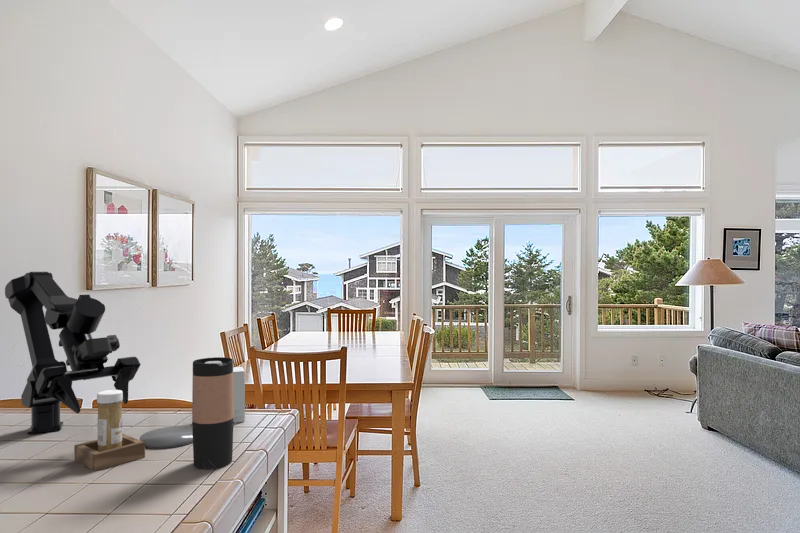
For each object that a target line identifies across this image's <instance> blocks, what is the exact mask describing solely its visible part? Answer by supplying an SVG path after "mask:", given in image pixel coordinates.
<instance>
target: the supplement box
mask: <svg viewBox="0 0 800 533" xmlns="http://www.w3.org/2000/svg"><path fill="white" fill-rule="evenodd" d="M245 376H246V374H245V369H244V368H243V366H235V367H234V366H233V407H234V417H233V418H234V421H233V422H236V423H243V422H245V420H246V419H245V418H246V416H245V415H246V412H245V411H246V409H245V408H246V405H245V404H246V403H245V402H246V398H245V396H246V394H245V393H246V392H245V391H246V390H245V388H246V387H245V386H246V382H245V381H246V380H245V378H246V377H245Z"/></svg>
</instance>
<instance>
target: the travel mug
mask: <svg viewBox="0 0 800 533" xmlns="http://www.w3.org/2000/svg"><path fill="white" fill-rule="evenodd" d="M233 367H234V359H233V358H231V357H225V356H224V357H221V356H220V357H205V358H199V359H195V360H193V362H192V384H191V385H192V390H191V391H192V394H191V395H192V399H191V400H192V402H191V403H192V407H191V408H192V410H191V413H192V414H191V417H192V418H191V419H192V420H191V421H192V422H191V424H192V425H191V426H192V430H193V443H192V452H193V454H192V455H193V456H192V457H193V466H194V468H196V469H199V470H216V469H220V467H221V468H224V467H226V465H227V466H228V464H229V465H230V464H232V462H233V453H234V452H233V446H234V423H233V421H234V418H233V417H234V407H233ZM223 466H224V467H223Z"/></svg>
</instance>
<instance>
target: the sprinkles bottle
mask: <svg viewBox="0 0 800 533" xmlns="http://www.w3.org/2000/svg"><path fill="white" fill-rule="evenodd" d="M122 400H123V392H122V391H121V390H116V389H109V390H102V391H99V392H97V394H96V403H97V440H98V452H102V451H105V450H109V449H113V448H117V447H121V446H122V434H123V413H122V412H123V411H122V410H123V408H122V407H123V406H122V403H123V401H122Z"/></svg>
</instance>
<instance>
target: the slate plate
mask: <svg viewBox="0 0 800 533" xmlns="http://www.w3.org/2000/svg"><path fill="white" fill-rule="evenodd" d="M139 440H140V441H143V442H145V448H147V449H148V448H149V449H172V448H177V447H183V446H188V445H191V444H193V430H192V425H173V426H166V427H165V426H164V427H161V428H156V429H152V430H149V431H146V432H144V433H143V434H141V435H140V436H139Z"/></svg>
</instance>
